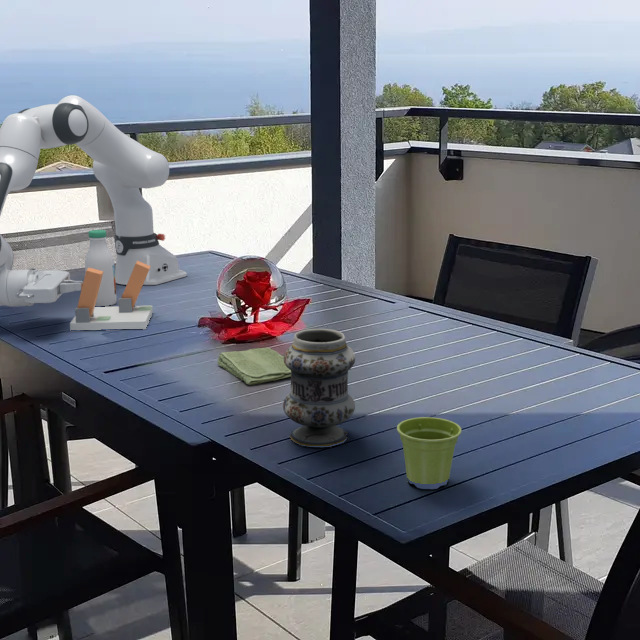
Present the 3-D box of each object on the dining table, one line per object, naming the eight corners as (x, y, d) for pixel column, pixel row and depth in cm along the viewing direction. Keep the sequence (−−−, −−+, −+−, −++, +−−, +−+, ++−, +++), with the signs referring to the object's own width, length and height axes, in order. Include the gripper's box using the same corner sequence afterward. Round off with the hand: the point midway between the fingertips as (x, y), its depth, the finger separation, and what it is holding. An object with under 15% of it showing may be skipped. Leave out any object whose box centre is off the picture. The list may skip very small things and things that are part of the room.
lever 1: (78, 312, 223) (89, 267, 221) (92, 315, 224) (103, 271, 221) (74, 316, 219) (86, 270, 217) (89, 320, 220) (100, 274, 217)
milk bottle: (113, 307, 242) (108, 233, 236) (84, 307, 242) (78, 233, 237) (120, 300, 249) (115, 228, 244) (92, 300, 249) (86, 228, 244)
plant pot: (396, 468, 141) (397, 415, 138) (457, 470, 140) (459, 417, 138) (395, 495, 132) (396, 439, 129) (461, 497, 131) (463, 441, 129)
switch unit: (82, 314, 234) (80, 294, 233) (152, 313, 235) (151, 292, 234) (70, 331, 219) (68, 309, 217) (145, 329, 220) (144, 307, 219)
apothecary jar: (359, 450, 148) (359, 343, 143) (285, 453, 147) (283, 346, 142) (350, 423, 159) (350, 324, 155) (282, 425, 158) (280, 326, 154)
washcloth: (247, 389, 178) (247, 374, 177) (214, 365, 193) (213, 351, 192) (307, 379, 184) (306, 364, 183) (269, 356, 199) (269, 342, 198)
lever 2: (120, 301, 233) (137, 260, 230) (133, 306, 233) (150, 265, 231) (118, 305, 229) (135, 263, 226) (131, 310, 229) (149, 269, 227)
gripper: (11, 284, 208) (72, 281, 209) (32, 267, 228) (88, 265, 229) (14, 310, 209) (75, 308, 210) (35, 291, 229) (90, 289, 230)
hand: (82, 285), depth 220 cm, fingers closed, pressing on lever 1
